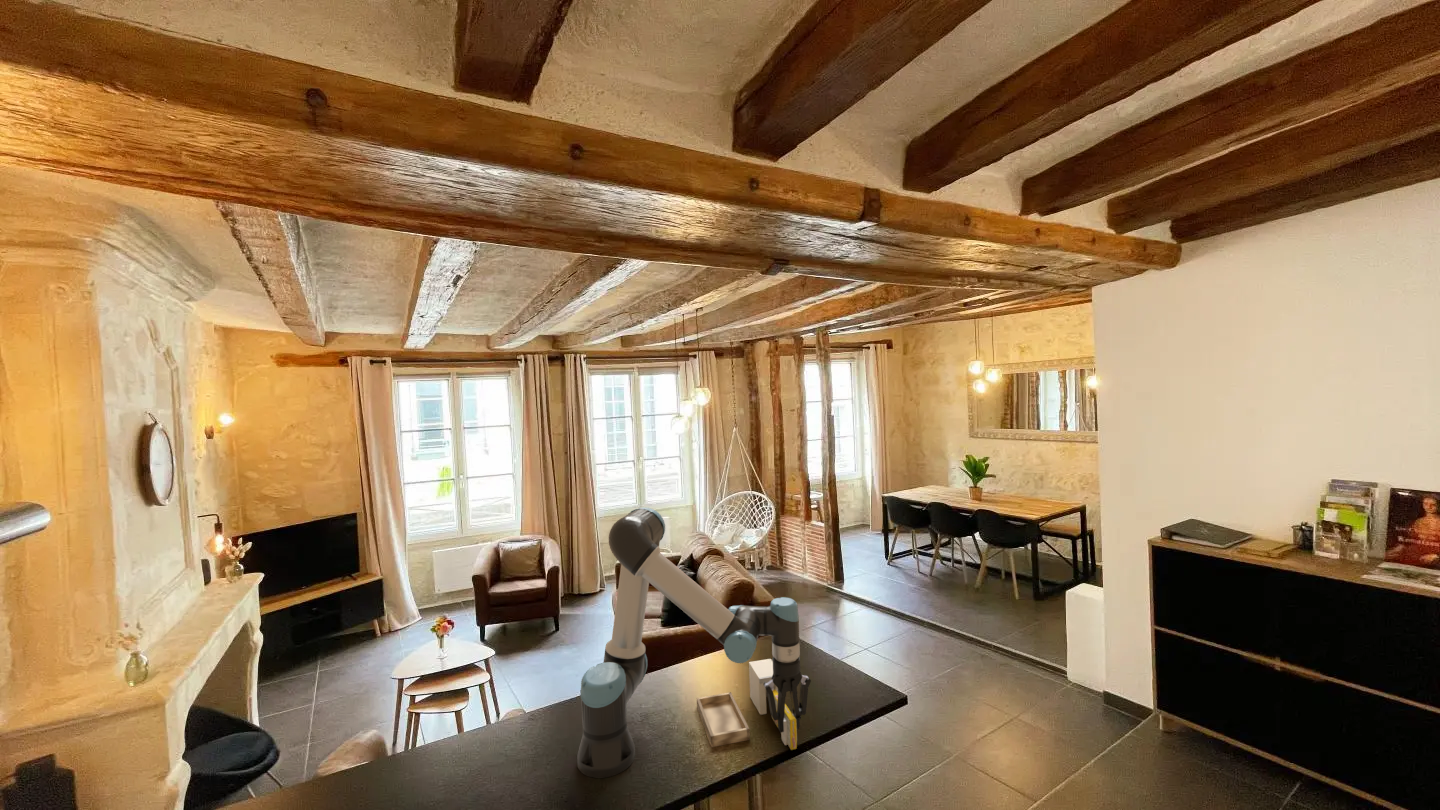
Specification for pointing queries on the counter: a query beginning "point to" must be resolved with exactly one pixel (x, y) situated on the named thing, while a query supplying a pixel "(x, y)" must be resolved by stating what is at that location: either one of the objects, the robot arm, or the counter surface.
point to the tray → (722, 719)
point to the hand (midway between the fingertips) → (789, 740)
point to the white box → (760, 682)
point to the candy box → (788, 724)
